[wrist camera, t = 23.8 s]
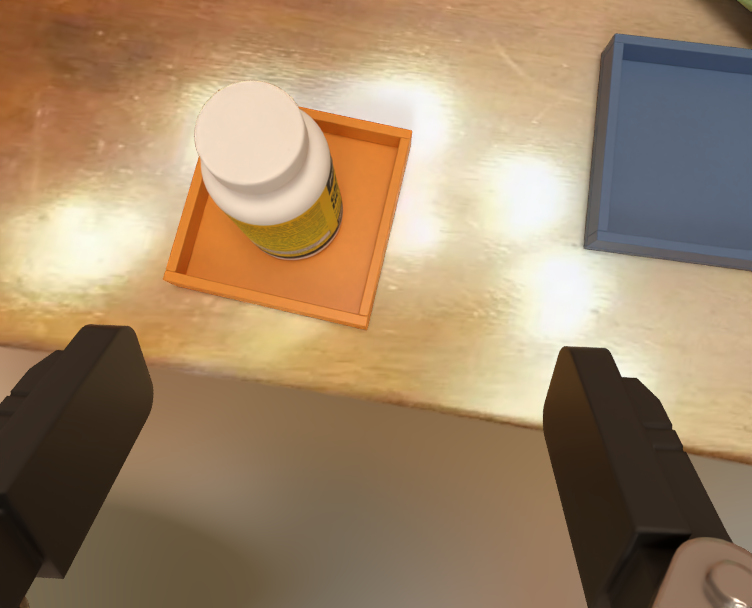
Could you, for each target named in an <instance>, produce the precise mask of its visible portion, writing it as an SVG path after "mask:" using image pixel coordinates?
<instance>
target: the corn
mask: <svg viewBox="0 0 752 608" xmlns="http://www.w3.org/2000/svg"><path fill="white" fill-rule="evenodd" d="M737 1H738V2H740V3H741V4H742V5H743V6H744V7H746V8H747V9H748V10H749V11H751V12H752V0H737Z"/></svg>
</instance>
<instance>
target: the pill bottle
mask: <svg viewBox="0 0 752 608" xmlns="http://www.w3.org/2000/svg"><path fill="white" fill-rule="evenodd" d="M194 137H195V145H196V150H197V152H198V155H199V157H200V159H201V172H202V177H203V181H204V184H205V186H206V189H207V191H208V193H209V195H210V196H211V198H212V199H213V200H214V202H215V203H216V204H217V206H218V207H219V208H220V209H221V210H222V211H223V212H224V213H225V214H226V215H227V216H228V217H229V218H230V219H231V220H232V221H233V222H234V223H235V224H236V225H237V226H238V227H239V229H240V230H241V231H242V232H243V233H244V234H245V235H246V236H247V237H248V238H249V239H250V240H251V241H252V242H253V243H254V244H255V245H256V246H257V247H258V248H259V249H261V250H262V251H263V252H265V253H267V254H269V255H270V256H273V257H276V258H279V259H284V260H300V259H305V258H308V257H311V256H313V255H315V254H317V253H319V252H321V251H322V250H323V249H325V248H326V247H327V246H328V245H329V244H330V243H331V242H332V240H333V239H334V238H335V236H336V235H337V233H338V231H339V228H340V225H341V222H342V216H343V204H342V197H341V194H340V189H339V186H338V182H337V178H336V174H335V170H334V166H333V160H332V157H331V154H330V150H329V146H328V143H327V141H326V138H325V136H324V134H323V132H322V130H321V129H320V127H319V126H318V125H317V123H316V122H315V121H314V120H313V119H312V118H311V117H310V116H309V115H308V114H307V113H305V112H304V111H302V110H301V109H299V107H298V105H297V104H296V103H295V101H294V100H293V99H292V98H291V97H290V96H289V95H288V94H287V93H286V92H285V91H283V90H282V89H280V88H279V87H277V86H275V85H272V84H270V83H267V82H262V81H242V82H237V83H233V84H231V85H228V86H226V87H224V88H222V89H220V90H219V91H218V92H216V93H215V94H214V95H213V96H212V97H211V98H210V99H209V100H208V101H207V102H206V103H205V104H204V106H203V108H202V109H201V111H200V113H199V115H198V118H197V121H196V125H195V131H194Z"/></svg>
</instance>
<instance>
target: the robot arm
mask: <svg viewBox="0 0 752 608" xmlns="http://www.w3.org/2000/svg"><path fill="white" fill-rule="evenodd" d="M152 403H153V384H152V381H151V378H150V375H149V372H148V369H147V366H146V363H145V360H144V357H143V354H142V351H141V348H140V345H139V342H138V339H137V336H136V333H135V332H134V330H133V329H132V328H131V327H129V326H116V325H93V324H89V325H85V326H84V327H82V328H81V329H80V330H79V332H78V333H77V334H76V335H75V337H74V338H73V339H72V340H71V342H70V343H69V344H68V346H67V347H66V348H65V349H64V351H63V350H56V351H55V352H53V353H52V354H50V355H49V356H47V357H46V358H44V359H43V360H42V361H40V362H39V363H37V364H36V365H34V366H33V367H32V368H30V369H29V370H28V371H27V372H26V374H25V375H24V376H23V377H22V378H21V380H20V381H19V382H18V383H17V384H16V386H15V387H14V388H13V389H12V390H11V395H10V396H7V397H6V398H5V399H4V400H3V401H2V402H1V404H0V608H30V607H29V603H28V600H27V598H26V597H25V595H26V593H27V591H28V589H29V588H30V586H31V584H32V582H33V581H34V579H35V577H42V578H58V579H64V577H65V575H66V573H67V571H68V570H69V567H70V566H71V564H72V562H73V560H74V558H75V556H76V554H77V552H78V550H79V548H80V547H81V545H82V543H83V541H84V539H85V537H86V535H87V533H88V531H89V529H90V527H91V525H92V524H93V522H94V519H95V518H96V516H97V514H98V512H99V510H100V508H101V506H102V504H103V502H104V501H105V499H106V497H107V494H108V493H109V491H110V489H111V487H112V485H113V483H114V481H115V479H116V477H117V476H118V474H119V472H120V470H121V468H122V466H123V464H124V462H125V460H126V458H127V456H128V454H129V453H130V451H131V449H132V447H133V445H134V443H135V441H136V439H137V437H138V435H139V433H140V431H141V430H142V428H143V426H144V424H145V422H146V420H147V418H148V416H149V414H150V411H151V408H152ZM543 430H544V436H545V440H546V444H547V448H548V452H549V456H550V460H551V464H552V468H553V472H554V476H555V480H556V484H557V487H558V491H559V495H560V499H561V503H562V507H563V511H564V515H565V519H566V523H567V527H568V531H569V535H570V539H571V543H572V547H573V550H574V554H575V558H576V562H577V566H578V570H579V574H580V578H581V582H582V586H583V590H584V594H585V598H586V602H587V606H588V608H752V553H750V552H749V551H747V550H745V549H744V548H742V547H740V546H737V545H736V544H734V543H733V542H732V540H731V539H730V537H729V535H728V533H727V532H726V530H725V528H724V526H723V524H722V522H721V520H720V518H719V516H718V514H717V512H716V510H715V508H714V506H713V504H712V502H711V500H710V498H709V496H708V494H707V492H706V490H705V488H704V486H703V485H702V482H701V480H700V478H699V477H698V475H697V473H696V471H695V469H694V467H693V465H692V463H691V461H690V459H689V457H688V455H687V453H686V452H684V451H683V445H682V443H681V441H680V439H679V437H678V435H677V433H676V431H675V430H672V423H671V421H670V420H669V418H668V416H667V414H666V412H665V410H664V408H663V406H662V404H661V402H660V400H659V399H658V398H657V397H656V396H655V395H654V394H653V393H652V392H651V391H650V390H649V389H648V388H647V387H646V386H645V385H644V384H642V383H641V382H640V381H639V380H638V379H637V378H627V377H621V374H620V372H619V370H618V368H617V366H616V363H615V361H614V359H613V357H612V355H611V353H610V351H609V350H608V349H606V348H593V347H570V346H564V347H562V349H561V350H560V352H559V355H558V358H557V362H556V365H555V368H554V372H553V375H552V379H551V382H550V386H549V389H548V393H547V396H546V400H545V403H544V409H543Z"/></svg>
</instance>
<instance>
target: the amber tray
mask: <svg viewBox="0 0 752 608" xmlns="http://www.w3.org/2000/svg"><path fill="white" fill-rule="evenodd" d="M218 91H219V90H218ZM299 109H301V110H302V111H304V112H305V113H307V114H308V115H309V116H310V117H311V118H312V119H313V120H314V121H315V122H316V123H317V125H318V126H319V127H320V129H321V130H322V132H323V134H324V136H325V138H326V141H327V143H328V146H329V150H330V154H331V157H332V160H333V166H334V170H335V174H336V178H337V182H338V186H339V189H340V194H341V197H342V204H343V216H342V222H341V225H340V228H339V231H338V233H337V235H336V236H335V238H334V239H333V240H332V242H331V243H330V244H329V245H328V246H327V247H326V248H325V249H323V250H322V251H321V252H319V253H317V254H315V255H313V256H311V257H308V258H305V259H300V260H284V259H279V258H276V257H273V256H270V255H269V254H267V253H265V252H263V251H262V250H261V249H259V248H258V247H257V246H256V245H255V244H254V243H253V242H252V241H251V240H250V239H249V238H248V237H247V236H246V235H245V234H244V233H243V232H242V231H241V230H240V229H239V227H238V226H237V225H236V224H235V223H234V222H233V221H232V220H231V219H230V218H229V217H228V216H227V215H226V214H225V213H224V212H223V211H222V210H221V209H220V208H219V207H218V206H217V204H216V203H215V202H214V200H213V199H212V198H211V196H210V195H209V193H208V191H207V189H206V186H205V184H204V181H203V177H202V172H201V159H200V157H199V158H198V162H197V165H196V168H195V172H194V175H193V179H192V182H191V186H190V189H189V192H188V196H187V199H186V203H185V206H184V209H183V213H182V216H181V220H180V223H179V226H178V230H177V233H176V237H175V240H174V244H173V247H172V250H171V254H170V257H169V261H168V264H167V267H166V271H165V274H164V277H163V280H165V281H167V282H169V283H171V284H174V285H176V286H179V287H183V288H188V289H192V290H196V291H201V292H205V293H209V294H214V295H218V296H222V297H226V298H231V299H235V300H239V301H244V302H248V303H252V304H257V305H261V306H265V307H270V308H274V309H278V310H283V311H287V312H291V313H296V314H300V315H304V316H309V317H313V318H317V319H321V320H326V321H330V322H334V323H339V324H343V325H347V326H352V327H356V328H360V329H365V330H367V328H368V324H369V320H370V316H371V312H372V307H373V303H374V299H375V295H376V290H377V286H378V282H379V278H380V273H381V269H382V265H383V261H384V257H385V252H386V248H387V244H388V240H389V235H390V231H391V227H392V223H393V219H394V214H395V210H396V206H397V202H398V197H399V193H400V189H401V185H402V181H403V176H404V172H405V168H406V164H407V159H408V155H409V151H410V147H411V138H412V130H407V129H402V128H398V127H393V126H388V125H383V124H379V123H374V122H369V121H365V120H360V119H355V118H350V117H346V116H341V115H336V114H331V113H327V112H322V111H317V110H313V109H308V108H303V107H299Z"/></svg>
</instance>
